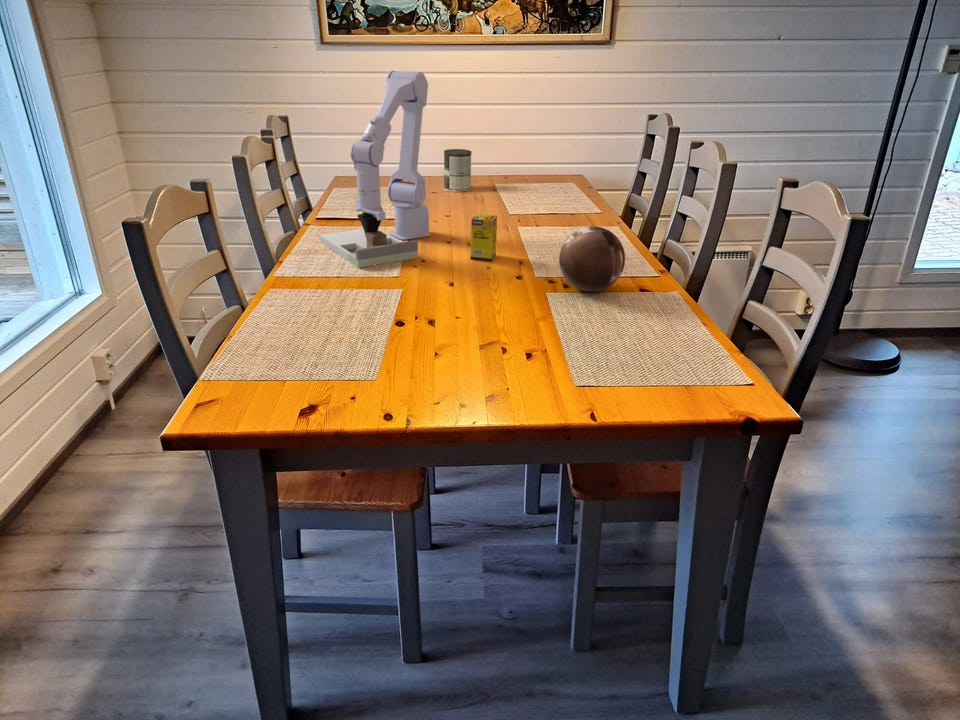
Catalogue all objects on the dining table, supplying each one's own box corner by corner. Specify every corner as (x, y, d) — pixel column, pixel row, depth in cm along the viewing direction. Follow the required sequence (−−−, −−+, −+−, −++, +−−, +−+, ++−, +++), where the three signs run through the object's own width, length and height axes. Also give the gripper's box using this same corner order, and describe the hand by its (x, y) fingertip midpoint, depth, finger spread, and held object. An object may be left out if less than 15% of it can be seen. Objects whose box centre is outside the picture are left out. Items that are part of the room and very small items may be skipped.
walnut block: (380, 245, 176) (380, 230, 174) (387, 249, 173) (386, 234, 171) (366, 247, 174) (366, 232, 172) (373, 251, 171) (372, 236, 169)
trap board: (375, 234, 193) (374, 218, 191) (417, 257, 173) (417, 241, 171) (320, 242, 184) (318, 226, 182) (358, 268, 165) (357, 250, 163)
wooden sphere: (545, 283, 158) (550, 222, 152) (598, 276, 164) (605, 216, 157) (577, 305, 146) (584, 239, 139) (633, 296, 152) (642, 233, 145)
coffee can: (438, 189, 249) (438, 151, 242) (455, 185, 256) (455, 148, 250) (459, 193, 244) (460, 154, 237) (476, 189, 251) (477, 151, 245)
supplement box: (492, 261, 172) (493, 220, 167) (470, 259, 173) (470, 218, 168) (496, 255, 177) (497, 215, 173) (474, 253, 178) (475, 213, 174)
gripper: (343, 185, 173) (346, 236, 179) (366, 196, 162) (369, 250, 168) (367, 183, 176) (370, 232, 182) (392, 193, 165) (393, 246, 171)
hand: (371, 240), depth 175 cm, fingers closed
